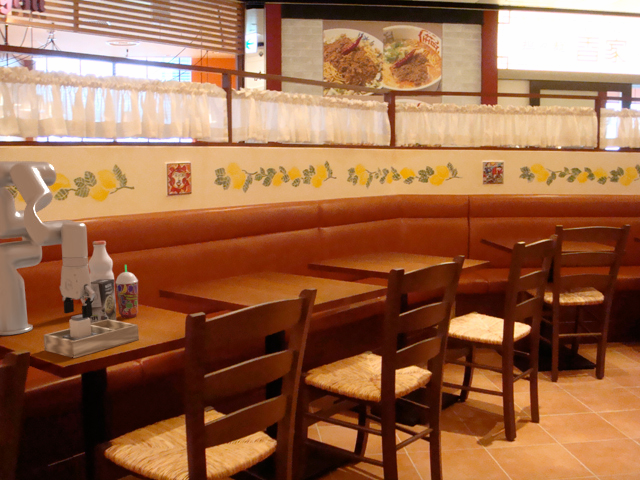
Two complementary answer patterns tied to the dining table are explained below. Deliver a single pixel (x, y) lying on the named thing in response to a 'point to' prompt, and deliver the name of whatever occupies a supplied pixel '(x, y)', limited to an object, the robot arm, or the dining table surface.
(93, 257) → the white milk bottle
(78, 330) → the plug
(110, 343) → the caddy
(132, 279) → the smoothie
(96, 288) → the coffee box
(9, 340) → the dining table surface
